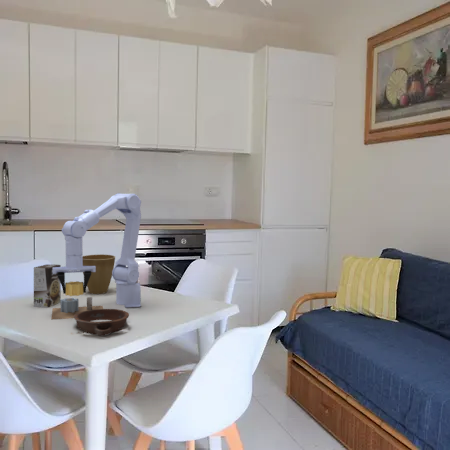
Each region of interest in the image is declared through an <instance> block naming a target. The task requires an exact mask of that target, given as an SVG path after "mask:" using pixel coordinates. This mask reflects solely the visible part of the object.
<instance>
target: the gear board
mask: <svg viewBox="0 0 450 450" xmlns="http://www.w3.org/2000/svg"><path fill="white" fill-rule="evenodd" d="M66 298H67V301H72V298H73V297H66ZM96 309H104V306H103V305H93V297H91V296H89V297H88V296H87V297H86V306H78V311H75V312H68V313H65V312H61V307H55V308H53V307H52V312H51V316H50V317H51V318H50V319H51V320H65V319H67V320H68V319H74V316H75V314H77V313H80V312H83V311H88V310H96Z"/></svg>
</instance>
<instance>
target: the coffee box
mask: <svg viewBox="0 0 450 450" xmlns="http://www.w3.org/2000/svg"><path fill="white" fill-rule="evenodd" d="M53 267H62V264H43V265H38V266H35V267H33V307H35V308H48V309H49V308H51V307H53V306H56V305H57V304H61V299H62V298H61V296H62V295H61V292H62V291H61V288H62V285H61V283H60V280H59V278H58V276H57V273H56V274H53Z"/></svg>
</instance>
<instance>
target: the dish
mask: <svg viewBox="0 0 450 450" xmlns="http://www.w3.org/2000/svg"><path fill="white" fill-rule="evenodd" d="M129 313H130V312H128V311H125V310H124V309H117V308H103V309H96V310H88V311H83V312H80V313H77V314H75V316H74V318H73V319H74V320H75V321H76V325H77V328H78V329H79V330H81V331H83V333H86V334H88V335H95V336H97V335H98V336H100V337H103V336H108V335H111V334H115V333H117V332H120V331H121V330H122V328H124V327H125V325H126V323H127V320H128V318H129V316H130V314H129Z"/></svg>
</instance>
